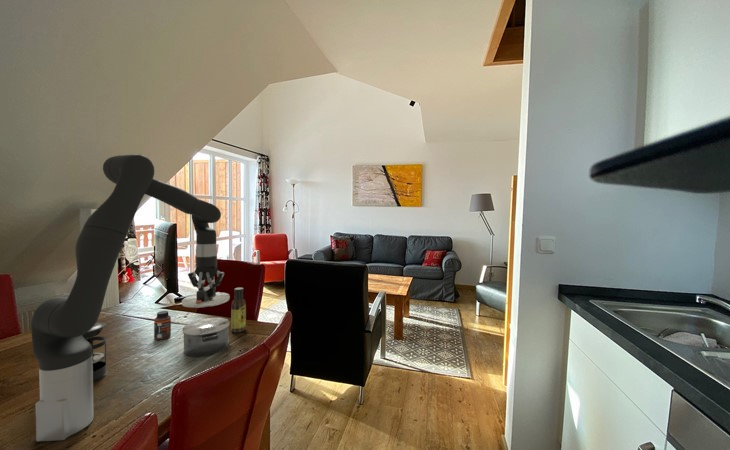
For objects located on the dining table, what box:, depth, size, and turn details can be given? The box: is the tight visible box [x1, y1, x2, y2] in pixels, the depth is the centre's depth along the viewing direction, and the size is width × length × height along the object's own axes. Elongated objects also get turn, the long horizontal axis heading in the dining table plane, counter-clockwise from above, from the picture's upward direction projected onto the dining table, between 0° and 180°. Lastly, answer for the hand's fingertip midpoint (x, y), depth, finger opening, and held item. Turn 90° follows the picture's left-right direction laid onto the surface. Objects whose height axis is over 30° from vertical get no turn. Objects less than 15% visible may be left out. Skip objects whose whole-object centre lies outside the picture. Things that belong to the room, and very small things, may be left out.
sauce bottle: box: [230, 287, 247, 333], centre depth 131 cm, size 6×6×20 cm
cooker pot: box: [181, 317, 231, 358], centre depth 114 cm, size 22×17×9 cm
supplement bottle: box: [153, 310, 172, 341], centre depth 122 cm, size 6×6×11 cm
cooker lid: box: [181, 284, 231, 309], centre depth 114 cm, size 17×17×5 cm
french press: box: [82, 321, 109, 383], centre depth 91 cm, size 12×9×23 cm
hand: (206, 296), depth 114 cm, fingers closed on cooker lid, 3 cm apart
